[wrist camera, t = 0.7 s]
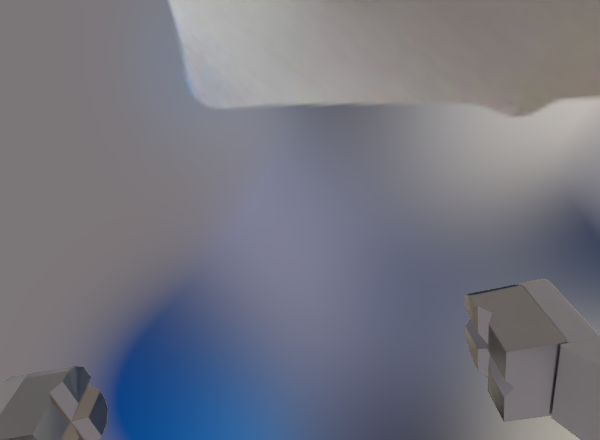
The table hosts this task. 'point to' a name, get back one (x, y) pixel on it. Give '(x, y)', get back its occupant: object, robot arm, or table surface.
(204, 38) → the table surface
